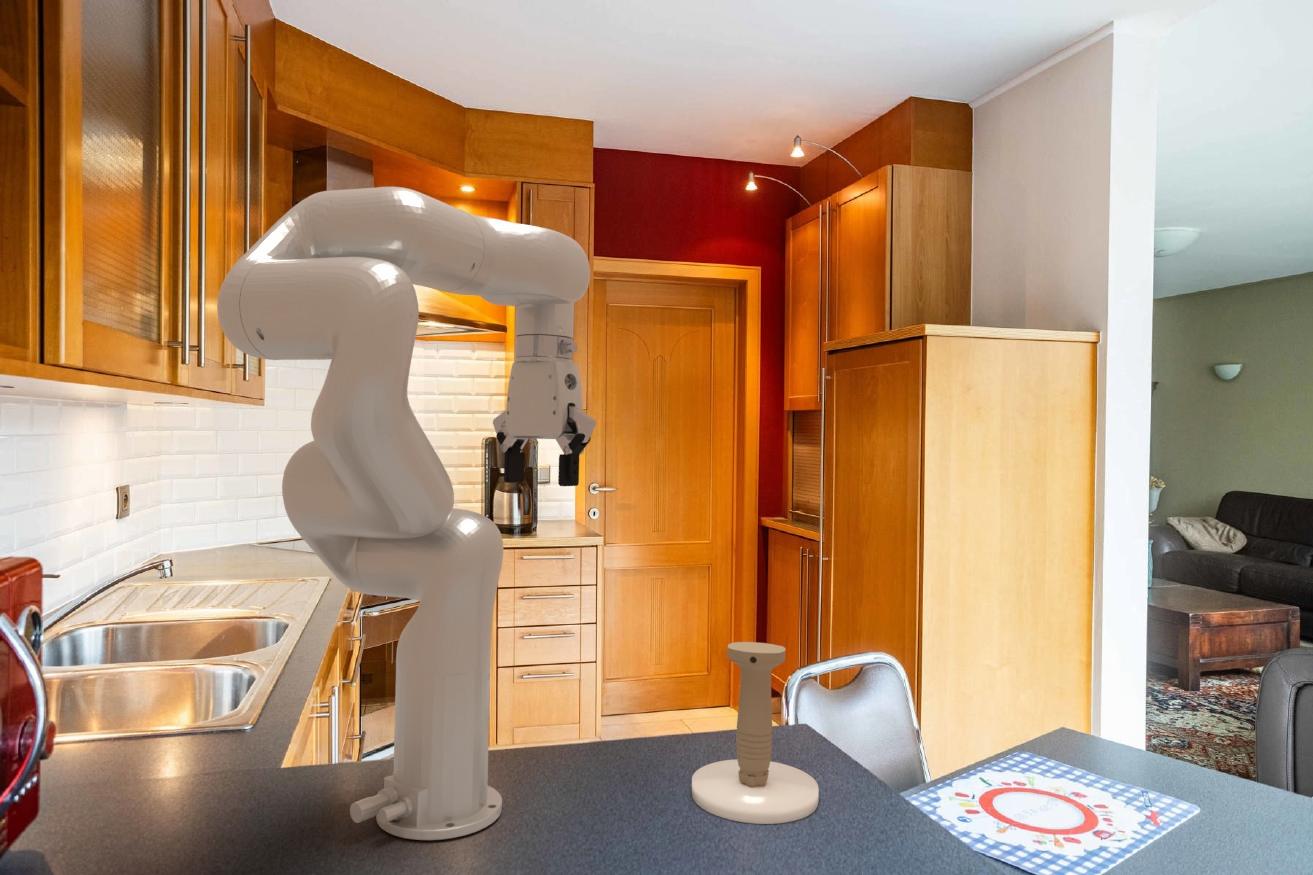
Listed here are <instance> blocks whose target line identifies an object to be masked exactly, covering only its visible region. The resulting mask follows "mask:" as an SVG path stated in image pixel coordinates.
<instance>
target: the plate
mask: <svg viewBox="0 0 1313 875" xmlns="http://www.w3.org/2000/svg"><path fill="white" fill-rule="evenodd" d="M768 770H769V773H768V779H767V782H766V784H765V785H764V786H754V787H750V786H748V785H747V784H743V783H741V782H740V781H739V774H738V771H740V767H739V766H738V759H737V758H736V759H726V760H725V759H724V760H720V761H715V762H711V763H709V764H706V765H703V766H701V767H700V768H698V769H696V771H695V772H694V773H693V775H692V776H691V798H692V800H693V801H694V803H695V804H696V805H697V806H698V807H699V808H701V809H702V810H704V811H705V812H708V813H709V814H712V815H713V816H717V817H719V818H722V819H726V820H730V821H735V822H740V823H744V824H745V823H746V824H754V825H755V824H756V825H774V824H785V823H791V822H795V821H799V820H801V819H804V818H806V817H808V816H810V815H811V814H813V813H814V812H815V811H816V810H817V808H818V806H819V792H820V791H819V785H818V782H817V781H816V779H814V778H813V777H812V776H811V775H810V774H808V773H806V772H805V771H803V770H801V769H799V768H797V767H794V766H791V765H788V764H784V763H782V762H781V763H780V762H776V761H771V760H770V765H769V769H768Z"/></svg>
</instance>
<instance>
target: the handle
mask: <svg viewBox="0 0 1313 875" xmlns="http://www.w3.org/2000/svg"><path fill="white" fill-rule="evenodd" d="M786 651H787V650H786V647H784V646H783V645H777V644H773V643H766V642H756V641H755V642H754V641H742V642H741V641H736V642H731V643H728V644H727V658H728V659H729V661H731V662H732V663H734V664H736V665H737V666H738V667H739V668H740V683H739V685H740V686H739V696H738V697H739V698H738V700H739V701H738V708H737V709H738V710H737V711H738V712H737V721H736V736H735V737H736V740H735V743H736V759H738V766H739V767H740V771H738V774H739V781H740V782H741V783H743V784H747V785H748V786H750V787H754V786H764V785H765V784H766V782H767V779H768V773H769V770H768V769H769V765H770V761H771V760H772V748H773V733H774V732H773V730H774V729H773V711H772V710H773V709H772V705H773V704H772V671H773V669H774V668H776V667H778V666H780V665H781V664H783V663H784V662H785V661H786Z"/></svg>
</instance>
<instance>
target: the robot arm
mask: <svg viewBox="0 0 1313 875" xmlns="http://www.w3.org/2000/svg"><path fill="white" fill-rule="evenodd" d="M590 280H591V267H590V262H589V259H588V256H587V254H586V252H585V250H584V249H583V247H582V246H581V245H580V244H579V243H578V241H576V240H575V239H573V238H572V237H570V236H568V235H566V234H564V233H561V232H559V231H556V230H554V229H550V228H546V227H542V226H541V227H540V226H537V225H530V224H524V223H517V222H512V221H507V220H503V219H499V218H493V217H488V216H487V217H486V216H480V215H475V214H473V213H469V212H467V211H464V210H463V209H460V208H457V207H454V206H452V205H449V204H448V203H446V202H443V201H441V200H439V199H436V198H434V197H431V196H429V195H427V194H424V193H422V192H420V191H417V190H414V189H411V188H406V187H402V186H401V187H400V186H377V187H367V188H366V187H365V188H364V187H363V188H355V189H354V188H352V189H351V188H349V189H334V190H324V191H319V192H316V193H313V194H311V195H309V196H308V197H305V198H303V199H302V200H301V201H299V202H298V203H296V204H295V205H294V206H292V207H291V208H290V209H289V210H288V211H287V212H286V213H284V214H283V216H281V217H280V218H279V219H278V220H277V221H275V223H274V224H273V225H272V226H270V228H269V229H268V230H267V231H266V232H265V233H264V234H263V235H262V236H261V237H260V238H259V239H258V240H257V241H256V242H255V243H254V244H253V245H252V246H251V247H250V248H249V249H248V250H247V251H246V252H245V253H244V254H243V255H242V256H241V257H240V258H239V259H238V260H237V262H235V264H234V265H233V266H232V267H231V268H230V270H229V271H228V272H227V274H226V276H225V277H224V279H223V281H222V284H221V286H220V288H219V293H218V296H217V304H216V305H217V306H216V308H217V310H216V312H217V319H218V322H219V326H220V328H221V331H222V332H223V334H224V336H225V338H227V339H228V341H229V343H231V345H232V346H233V347H235V348H236V349H238V351H240V352H241V353H244V354H246V355H248V356H250V357H252V358H258V359H262V360H269V361H287V360H288V361H291V360H293V361H298V360H301V361H303V360H308V361H309V360H311V361H312V360H315V361H316V360H318V361H322V360H325V361H327V360H331V361H330V364H329V367H328V371H327V374H326V377H325V379H324V382H323V385H322V388H321V390H320V393H319V394H318V397H317V399H316V402H315V403H314V407H313V409H312V413H311V418H310V430H311V435H312V438H313V440H312V441H310V442H307V443H305V444H304V445H302V446H301V447H299V448H298V449H297V450H296V451H295V452H294V453H293V455H292V456H290V459H289V460H288V462H287V464H286V466H285V469H284V472H283V476H282V483H281V492H282V493H281V494H282V495H281V496H282V500H283V506H284V509H285V512H286V515H287V517H288V520H289V521H290V523H291V525H292V526H293V528H294V529H295V531H296V532H297V533H298V534H299V535H300V537H301V538H302V539H303V541H304V542H305V543H306V544H307V545H308V546H309V548H310V549H311V550H312V551H313V552H314V553H315V554H316V556H317V557H318V558H319V560H321V562H322V563H323V564H324V565H325V566H326V568H328V570H329V572H331V573H332V575H334V577H336V579H337V580H338V581H339V582H340V583H341V584H342V585H344V586H345V587H347V588H348V589H349V590H352V591H354V592H356V593H359V594H363V595H368V596H369V595H371V596H380V597H390V598H391V597H392V598H400V599H401V598H403V599H409V600H417V601H419V605H418V607H417V609H416V611H415V612H414V614H413V615H412V617H411V618H410V620H408V622H407V624H406V625H405V627H404V628H403V630H402V631H401V633H400V635H399V636H400V637H399V639H398V642H397V647H396V655H395V656H396V657H395V658H396V659H395V695H394V696H395V698H394V699H395V703H394V706H395V707H394V734H393V735H394V736H393V738H394V740H393V742H394V743H393V770H392V771H393V774H390V775H387V776H385V777H384V780H383V788H381V789H379V790H378V791H377V793H376V795H373V796H368V797H365V798H362V799H360V800H357V801H354V802H353V803H351V805H350V808H349V814H350V817H351V818H350V819H352V821H353V822H354V823H356V824H359V823H361V822H364V821H367V820H369V819H371V818H374V817H376V818H375V819H376V823H377V824H378V826H379V827H380V828H381V829H382V830H383V831H385V832H387V833H388V834H390V835H393V836H395V837H398V838H402V839H408V840H416V841H441V840H442V841H443V840H449V839H455V838H459V837H463V836H468V835H470V834H473V833H476V832H479V831H482V830H483V829H486V828H487V827H489V826H490V825H492V824H493V823H494V822H496V820H497V819H499V817H500V816H501V813H502V808H503V798H502V794H500V793H499V791H498V790H496V789H495V788H494V787H492V786H490V785H488V783H489V782H488V781H489V780H488V776H489V775H488V773H489V737H490V704H491V703H490V702H491V701H490V700H491V696H490V694H491V666H492V665H491V661H492V635H493V634H492V632H493V631H492V630H493V620H494V619H493V618H494V609H495V602H496V595H497V590H498V584H499V580H500V576H501V575H500V574H501V570H502V565H503V560H504V541H503V536H502V533H501V531H500V530H499V528H498V526H497V525H496V523H495V522H494V521H492V520H491V519H490V518H488V517H487V516H485V515H483V514H482V513H480V512H476V511H472V510H469V509H462V508H454V504H455V492H454V487H453V484H452V481H451V479H450V478H451V477H450V476H449V473H448V472H447V470H446V467H445V466H444V465H443V462H442V461H441V459H440V457H439V455H438V453H437V451H435V449H434V446H433V445H432V443H431V442H430V440H429V439H428V436H427V435H426V433H425V432H424V430H423V428H422V426H421V424H420V422H419V421H418V420H417V418H416V417H417V416H415V413H414V411H413V409H412V407H411V406H410V401H409V397H408V384H409V379H410V377H409V376H410V369H411V365H412V359H413V352H414V346H415V342H416V337H417V331H418V328H419V327H418V326H419V315H420V314H419V313H420V310H419V302H418V298H417V293H416V289H415V286H421V287H425V288H429V289H434V290H437V291H441V292H444V293H445V292H446V293H449V294H454V295H461V296H462V295H463V296H480V297H481V299H483V300H484V301H485V302H487V303H490V304H493V305H497V306H507V307H508V306H509V307H515V326H514V327H515V331H514V332H515V334H514V335H515V336H514V337H515V338H514V341H515V342H514V362H513V363H512V365H511V369H510V375H509V380H508V387H507V395H506V405H505V406H506V407H505V408H506V409H505V410H504V411H502V413H500V414H499V415H497V416H496V417H495V418H494V419H493V420H492V426H493V427H494V430H495V433H496V437H495V438H496V439H497V441H498V444H500V449H501V452H503V453H504V464H503V465H504V466H503V467H504V468H503V470H504V471H503V481H504V483H507V484H509V483H514V484H515V483H523V482H524V481H525V471H526V470H525V469H526V465H525V464H526V453H525V452H522V450H523V449H524V447H525V445H526V444H527V442H528V440H529V439H535V440H537V439H538V440H539V439H541V440H555V441H556V442H557V444H558V446H559V447H560V449H561V451H562V453H563V454H562V453H560V454H559V457H558V476H557V477H558V478H557V479H558V481H557V483H558V485H559V486H560V487H577V486H579V483H580V482H579V480H580V455H583V454H584V453H585V448H586V447H587V446H588V444H589V443H590V442H591V439H592V438H591V437H592V434H593V432H594V430H595V427H596V424H597V421H596V419H595V418H593V417H592V416H590V415H588V413H586V412H584V410H583V408H584V406H583V405H584V404H583V392H582V382H581V381H582V380H581V375H580V370H579V366H578V365H579V364H578V363H576V362H573V356H574V353H576V352H577V350H578V345H577V343H576V342H575V341H574V333H575V332H574V329H575V328H574V327H575V326H574V325H575V303H577V302H579V300H580V299H582V298H583V296H585V294H586V292H587V290H588V289H589V285H590ZM414 285H415V286H414Z"/></svg>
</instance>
